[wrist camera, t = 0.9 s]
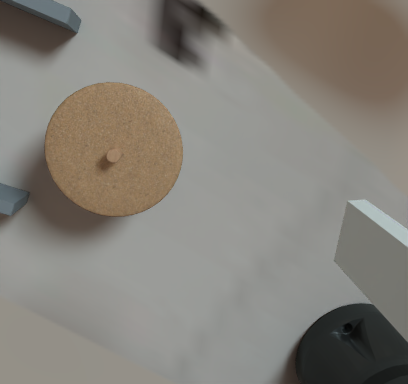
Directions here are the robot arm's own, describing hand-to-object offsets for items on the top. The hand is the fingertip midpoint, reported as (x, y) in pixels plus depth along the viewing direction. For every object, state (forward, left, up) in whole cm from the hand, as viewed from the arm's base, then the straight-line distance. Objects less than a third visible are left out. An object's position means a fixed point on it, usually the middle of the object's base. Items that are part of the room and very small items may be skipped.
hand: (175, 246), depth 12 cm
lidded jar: (+4, 0, -25) cm, 25 cm away
